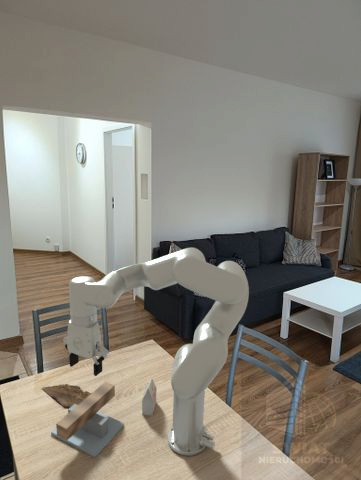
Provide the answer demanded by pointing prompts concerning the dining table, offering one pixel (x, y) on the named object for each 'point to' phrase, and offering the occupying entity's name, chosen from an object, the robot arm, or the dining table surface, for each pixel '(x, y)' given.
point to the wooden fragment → (67, 394)
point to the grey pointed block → (149, 399)
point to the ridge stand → (93, 433)
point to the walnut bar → (85, 411)
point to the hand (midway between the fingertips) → (86, 368)
